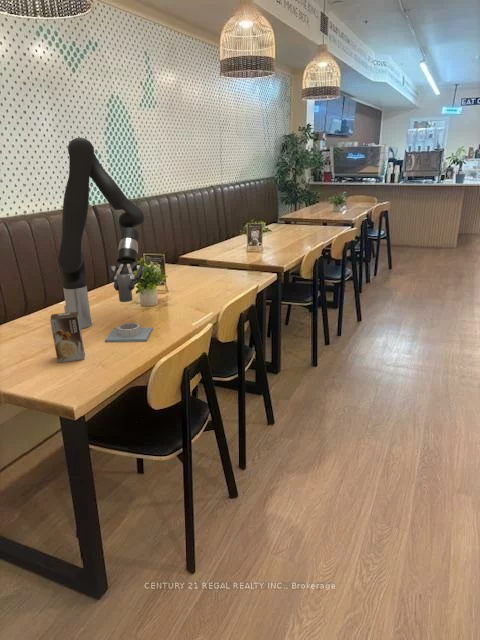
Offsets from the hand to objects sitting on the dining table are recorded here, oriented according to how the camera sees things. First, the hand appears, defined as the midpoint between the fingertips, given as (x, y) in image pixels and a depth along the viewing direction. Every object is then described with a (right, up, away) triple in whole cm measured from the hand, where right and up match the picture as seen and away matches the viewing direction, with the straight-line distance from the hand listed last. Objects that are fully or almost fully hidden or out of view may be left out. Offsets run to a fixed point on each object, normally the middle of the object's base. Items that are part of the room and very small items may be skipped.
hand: (123, 289), depth 176 cm
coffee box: (-16, -25, -12) cm, 32 cm away
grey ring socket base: (0, -18, +8) cm, 20 cm away
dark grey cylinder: (0, -4, +3) cm, 5 cm away
